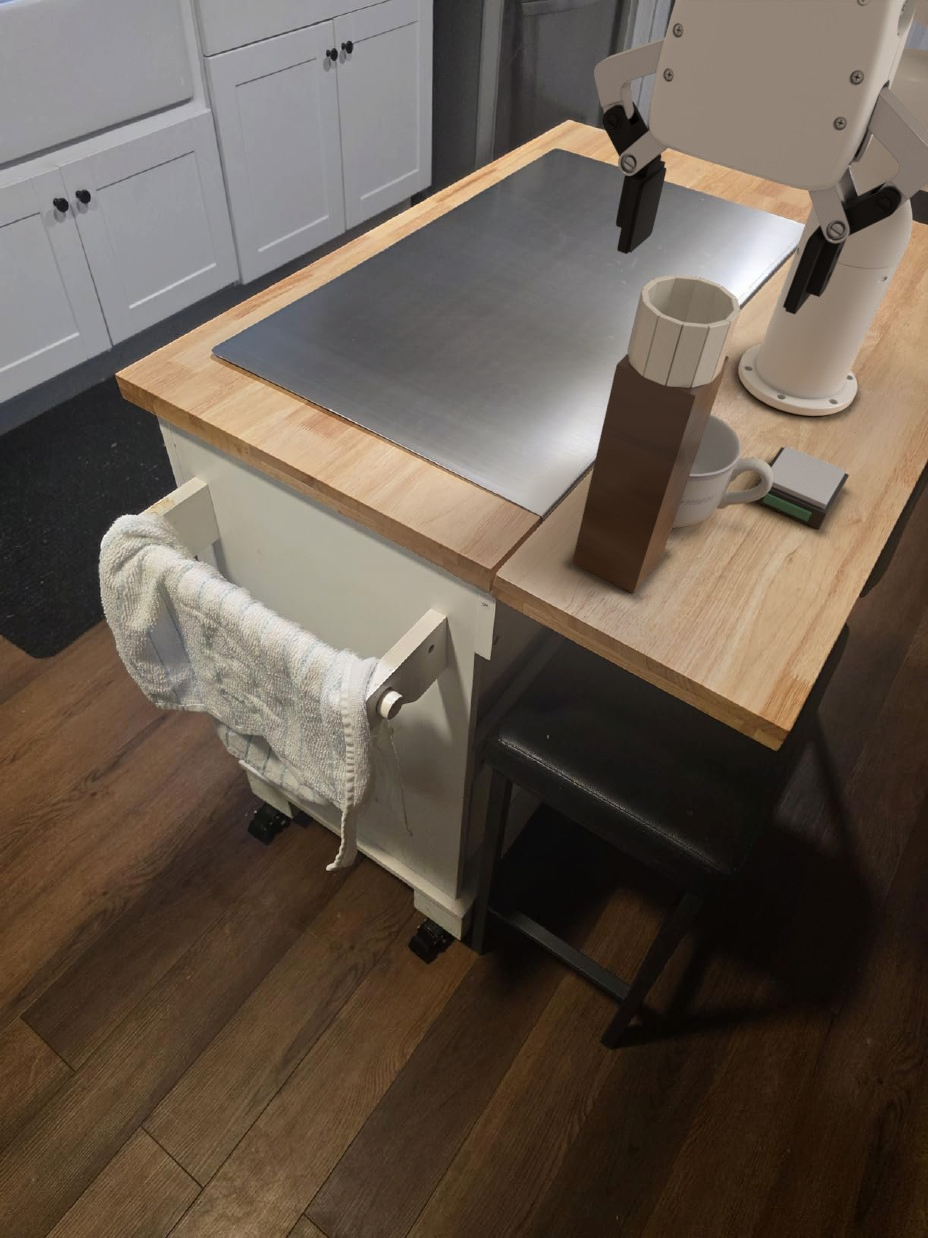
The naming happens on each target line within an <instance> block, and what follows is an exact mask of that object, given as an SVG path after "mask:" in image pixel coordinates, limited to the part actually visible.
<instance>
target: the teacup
mask: <svg viewBox="0 0 928 1238" xmlns="http://www.w3.org/2000/svg"><path fill="white" fill-rule="evenodd" d="M742 450H743V447H742V443H741V439H740V437H739V435H738V433H737V432H736V431H735V429H734V428H733V427H732V426H731V425H730V424H728V423H727V422H726V421H724V419H722V418H720V417H719V416H717V415H715V414H713V413H710V416H709V419H708V422H707V425H706V428H705V431H704V434H703V437H702V440H701V443H700V446H699V449H698V452H697V454H696V457H695V460H694V463H693V466H692V469H691V472H690V475H689V478H688V481H687V484H686V487H685V490H684V493H683V496H682V499H681V502H680V505H679V508H678V511H677V514H676V517H675V520H674V523H673V526H672V529H674V528H675V529H677V528H681V527H687V526H692V525H696V524H698V523H700V522H702V521H704V520H706V519H708V518H709V517H710V516H711V515H713V513H714V512H715V511H716V510H717V509H718V510H724V509H726V508H727V507H729V506H734V505H742V504H749V503H752V502H755V500H758V499H760V498H762V497H763V496H765V495H766V494H767V493H768V492H769V490H770V489H771V486H772V484H773V472H772V469H771V467H770V466H769V464H768V462H766V461H765V460H764V459H761V458H758V457H744V458H741V457H742ZM747 472H753V473H755V474H756V475H758V476H759V478H760V477H761V480H762V481H761V483H760V484H759V485H758V486H756V485H755V486H756V487H755V486H754V487H752V488H749V489H745V490H739V491H728V488H729V485H730V483H732V482H734V481H735V480H736V479H737V478H738V477H739V476H740V475H741V474H743V473H747Z"/></svg>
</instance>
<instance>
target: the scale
mask: <svg viewBox="0 0 928 1238" xmlns="http://www.w3.org/2000/svg"><path fill="white" fill-rule="evenodd" d="M768 465H769V466H770V467H771V469H772V472H773V484H772V486H771V489H770V490H769V492H768V493H767V494H766V495H765V496H763V497H762V498H760V499H758V500H755V501H754V502H755V503H758V504H760V505H761V506H764V507H767V508H769V509H771V510H774V511H776V512H778V513H780V514H782V515H785V516H786V517H789V518H792V519H794V520H797V521H798V522H801V523H803V524H805V525H807V526H809V527H811V528H814V529H817V530H820V528H821V526H822V525H823V523H824V521H825V519H826V518H827V516H828V514H829V513H830V511H831V510H832V507H833V505H834V504H835V503H836V500H837V499H838V497H839V495H840V494H841V492H842V490H843V488H844V487H845V484H846V482H847V480H848V478H849V477H850V474H848V473H846V472H847V470H846V469H844V468H842V467H839V466H837V465H835V464H832V463H829V462H827V461H824V460H822V459H820V458H818V457H815V456H813V455H810V454H808V453H805V452H803V451H801V450H799V449H795V448H794V447H791V446H789V445H785V447H784V446H781V447H780V449H779V450H778V451H777V453H776V454H775V455H774V457H773V459H772V460H771V461H770V463H769V464H768ZM761 481H762V480H761V477H760V476H759V479H758V480H757V481H756V484H755V486H754V487H756V486H758V485H759V484H760V483H761Z"/></svg>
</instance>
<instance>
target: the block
mask: <svg viewBox="0 0 928 1238" xmlns="http://www.w3.org/2000/svg"><path fill="white" fill-rule="evenodd" d="M729 360H730V356H728V355H726V357H725V360H724V363H723V366H722V369H721V372H720V373H719V374H718V375H717V376H716V378H715V379H714V380H713V381H712V382H710V383H708V384H704V385H701V386H697V387H693V388H691V387H690V388H683V387H671V386H667V385H662V384H659V383H657V382H655V381H652V380H650V379H647V378H645V377H644V376H642V375H641V374H640V373H639V372H638V371H637V370H636V369H635V368H633V367H632V366H631V365H630V363H629V359H628V353H626V354H625V355H624V356H623V357H622V358H621V359H620V360H619V362H617V364H616V366H615V370H614V374H613V379H612V384H611V388H610V393H609V397H608V400H607V401H608V402H607V406H606V411H605V414H604V418H603V419H604V420H603V424H602V429H601V432H600V437H599V441H598V446H597V451H596V454H595V458H594V459H595V460H594V464H593V468H592V473H591V476H590V481H589V485H588V491H587V494H586V500H585V504H584V508H583V511H582V512H583V513H582V517H581V521H580V526H579V531H578V536H577V539H576V544H575V548H574V553H573V557H572V562H571V563H572V564H573V565H575V566H577V567H579V568H581V569H583V570H585V571H587V572H589V573H590V574H593V575H595V576H597V577H599V578H601V579H603V580H606V581H607V582H609V583H611V584H613V585H615V586H617V587H619V588H621V589H623V590H625V591H627V592H629V593H631V594H635V592H636V591H637V590H638V588H639V587H640V586H641V584H642V583H643V582H644V580H645V579H646V577H648V575H649V573H650V572H651V571H652V569H653V568H654V567H655V565H656V564H657V562H658V561H659V560H660V558H661V557H662V556H663V554H664V553H665V549H666V546H667V544H668V541H669V538H670V534H671V532H672V529H673V528H672V526H673V523H674V520H675V517H676V514H677V511H678V508H679V505H680V502H681V499H682V496H683V493H684V490H685V487H686V484H687V481H688V478H689V475H690V472H691V469H692V466H693V463H694V460H695V457H696V454H697V452H698V449H699V446H700V443H701V440H702V437H703V434H704V431H705V428H706V425H707V422H708V419H709V416H710V413H711V412H712V409H713V407H714V403H715V401H716V398H717V395H718V392H719V389H720V386H721V383H722V379H723V378H724V374H725V371H726V368H727V365H728V362H729ZM711 414H712V413H711Z"/></svg>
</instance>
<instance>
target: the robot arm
mask: <svg viewBox="0 0 928 1238" xmlns="http://www.w3.org/2000/svg"><path fill="white" fill-rule="evenodd" d="M913 21H914V22H915V23H917V24H918V25H920V26H923V27H925V28H928V0H675V1H674V5H673V9H672V11H671V14H670V18H669V23H668V26H667V29H666V33H665V36H664V37H662V38H658V39H656V40H652V41H650V42H647V43H644V44H640V45H638V46H635V47H631V48H629V49H627V50H624V51H621V52H617V53H615V54H612V55H609V56H607V57H606V58H604V59H602V60H600V61H599V62H597V63H596V64H595V66H594V69H593V78H594V81H595V86H596V90H597V94H598V99H599V103H600V108H602V110H603V116H602V125H603V128H604V131H605V132H606V134H607V136H608V138H609V140H610V142H611V143H612V145H613V148H614V150H615V151H616V153H617V155H618V161H617V166H618V169H619V171H620V172H621V173H622V174H623V175H624V178H623V183H622V188H621V193H620V199H619V204H618V208H617V214H616V218H615V219H616V220H615V226H616V227H617V228H619V229H620V232H619V238H618V243H617V252H620V253H622V254H625V255H627V254H631V253H633V251H635V250H636V249H637V248H638V247H640V245H642V243H644V242H646V240H647V239H648V238H649V237H650V236H651V235H652V233H653V230H654V226H655V222H656V218H657V213H658V209H659V205H660V200H661V196H662V192H663V186H664V183H665V178H666V175H667V167H665V165H666V161H664V160H662V154H663V153H664V152H665V151H666V150H668V149H670V150H672V151H675V152H678V153H680V154H683V155H687V156H690V157H692V158H696V159H699V160H701V161H704V162H708V163H711V164H714V165H718V166H720V167H724V168H726V169H730V170H733V171H736V172H740V173H743V174H747V175H750V176H752V177H756V178H760V179H762V180H765V181H768V182H772V183H775V184H779V185H783V186H786V187H790V188H793V189H797V190H802V191H808V194H809V197H810V200H811V203H812V205H811V207H810V211H809V213H808V216H807V219H806V221H805V224H804V227H803V230H802V233H801V235H800V238H799V241H798V242H797V243H798V244H797V246H796V249H795V252H794V254H793V258H792V259H791V263H790V265H789V268H788V271H787V274H786V276H785V279H784V282H783V285H782V287H781V290H780V293H779V295H778V296H779V297H778V298H777V301H776V304H775V306H774V310H773V311H772V314H771V317H770V320H769V323H768V326H767V328H766V332H765V333H764V334H765V335H764V337H763V339H762V342H761V343H758V344H755V345H753V346H751V347H749V348H748V349H747V350H746V351H744V353H743V355H742V356H741V358H740V360H739V364H738V367H737V370H738V371H737V374H738V377H739V380H740V381H741V383H742V385H743V386H744V388H745V389H746V390H747V391H748V392H749V393H750V394H751V395H753V396H754V397H755V398H756V399H758V400H759V401H761V402H763V403H764V404H766V405H768V406H770V407H772V408H775V409H777V410H780V411H783V412H786V413H790V414H794V415H800V416H811V417H816V416H817V417H818V416H819V417H820V416H827V415H833V414H836V413H839V412H842V411H843V410H845V409H846V408H848V407H849V406H850V405H851V403H852V402H853V400H854V398H855V396H856V394H857V392H858V380H857V378H856V376H855V374H854V372H853V371H852V370H851V369H852V367H853V365H854V363H855V361H856V358H857V357H858V354H859V352H860V350H861V348H862V345H863V344H864V341H865V339H866V337H867V335H868V332H869V331H870V329H871V326H872V324H873V322H874V320H875V318H876V316H877V313H878V311H879V309H880V307H881V305H882V302H883V301H884V298H885V296H886V293H887V291H888V289H889V287H890V285H891V283H892V281H893V279H894V277H895V274H896V272H897V270H898V268H899V266H900V264H901V261H902V259H903V258H904V255H905V253H906V251H907V249H908V246H909V244H910V242H911V237H912V233H913V222H914V221H913V210H912V205H911V198H912V197H913V196H915V195H916V194H917V193H918V192H919V191H923V192H926V193H928V49H922V48H915V47H906V46H905V45H906V43H907V39H908V36H909V32H910V31H911V30H910V29H911V26H912V23H913ZM653 74H655V75H654V80H653V85H652V90H651V95H650V100H649V107H648V115H647V123H648V124H646V123H645V121H644V118H643V116H642V114H641V112H640V110H639V109H638V107H637V105H636V103H635V102H634V101H633V99H632V95H633V92H632V82H633V81H634V80H637V79H640V78H643V77H647V76H650V75H653ZM647 125H648V126H647Z"/></svg>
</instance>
